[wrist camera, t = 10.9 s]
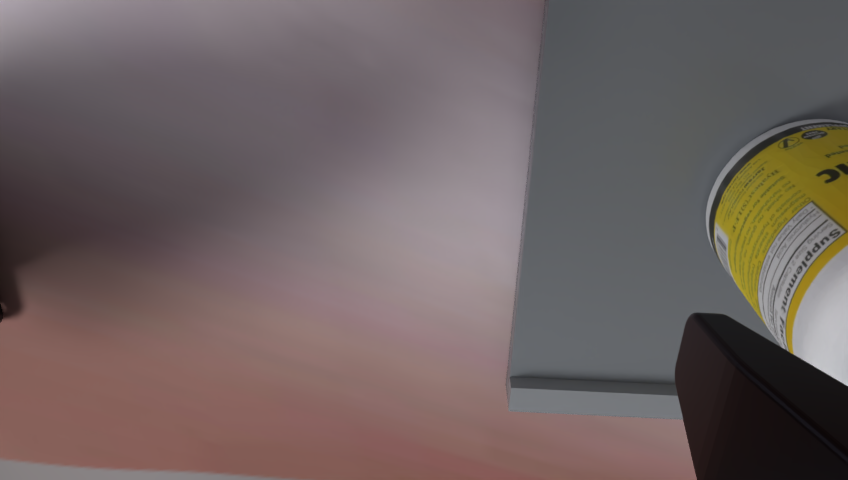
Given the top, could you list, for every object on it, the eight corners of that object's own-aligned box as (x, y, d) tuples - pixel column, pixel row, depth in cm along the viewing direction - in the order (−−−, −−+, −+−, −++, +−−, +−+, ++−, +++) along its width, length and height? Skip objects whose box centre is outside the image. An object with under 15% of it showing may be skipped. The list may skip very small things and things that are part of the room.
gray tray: (505, 385, 25) (508, 411, 24) (556, -109, 18) (563, -109, 17) (955, 406, 25) (981, 433, 24) (1187, -89, 18) (1242, -86, 17)
